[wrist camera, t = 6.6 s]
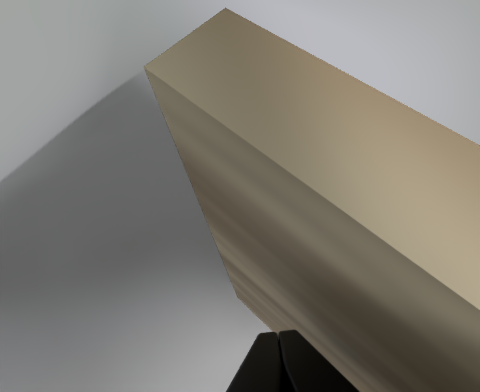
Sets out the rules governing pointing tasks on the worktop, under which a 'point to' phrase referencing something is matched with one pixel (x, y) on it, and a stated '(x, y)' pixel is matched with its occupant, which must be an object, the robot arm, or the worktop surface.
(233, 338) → the worktop surface
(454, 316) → the wood grain plank
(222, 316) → the worktop surface
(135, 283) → the worktop surface
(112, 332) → the worktop surface
